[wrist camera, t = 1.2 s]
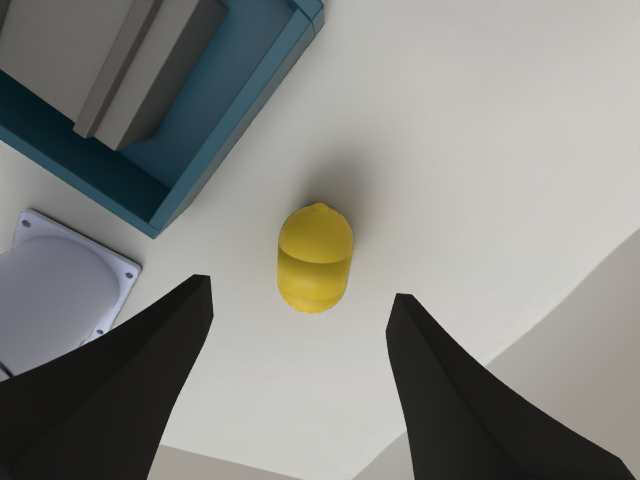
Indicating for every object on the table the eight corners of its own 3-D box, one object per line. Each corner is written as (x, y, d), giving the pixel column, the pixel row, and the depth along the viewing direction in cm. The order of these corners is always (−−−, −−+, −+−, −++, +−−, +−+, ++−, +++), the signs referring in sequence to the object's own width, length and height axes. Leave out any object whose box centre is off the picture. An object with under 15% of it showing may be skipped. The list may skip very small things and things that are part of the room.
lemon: (340, 290, 23) (343, 335, 19) (280, 284, 23) (270, 329, 19) (356, 193, 19) (365, 224, 15) (285, 186, 19) (274, 215, 15)
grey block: (151, 138, 17) (106, 154, 14) (24, 41, 15) (-69, 30, 12) (229, 10, 14) (198, -13, 11) (86, -133, 12) (-13, -220, 9)
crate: (188, 207, 20) (153, 240, 16) (-57, 32, 16) (-191, 16, 12) (324, 23, 15) (324, 4, 11) (25, -307, 11) (-157, -541, 7)
